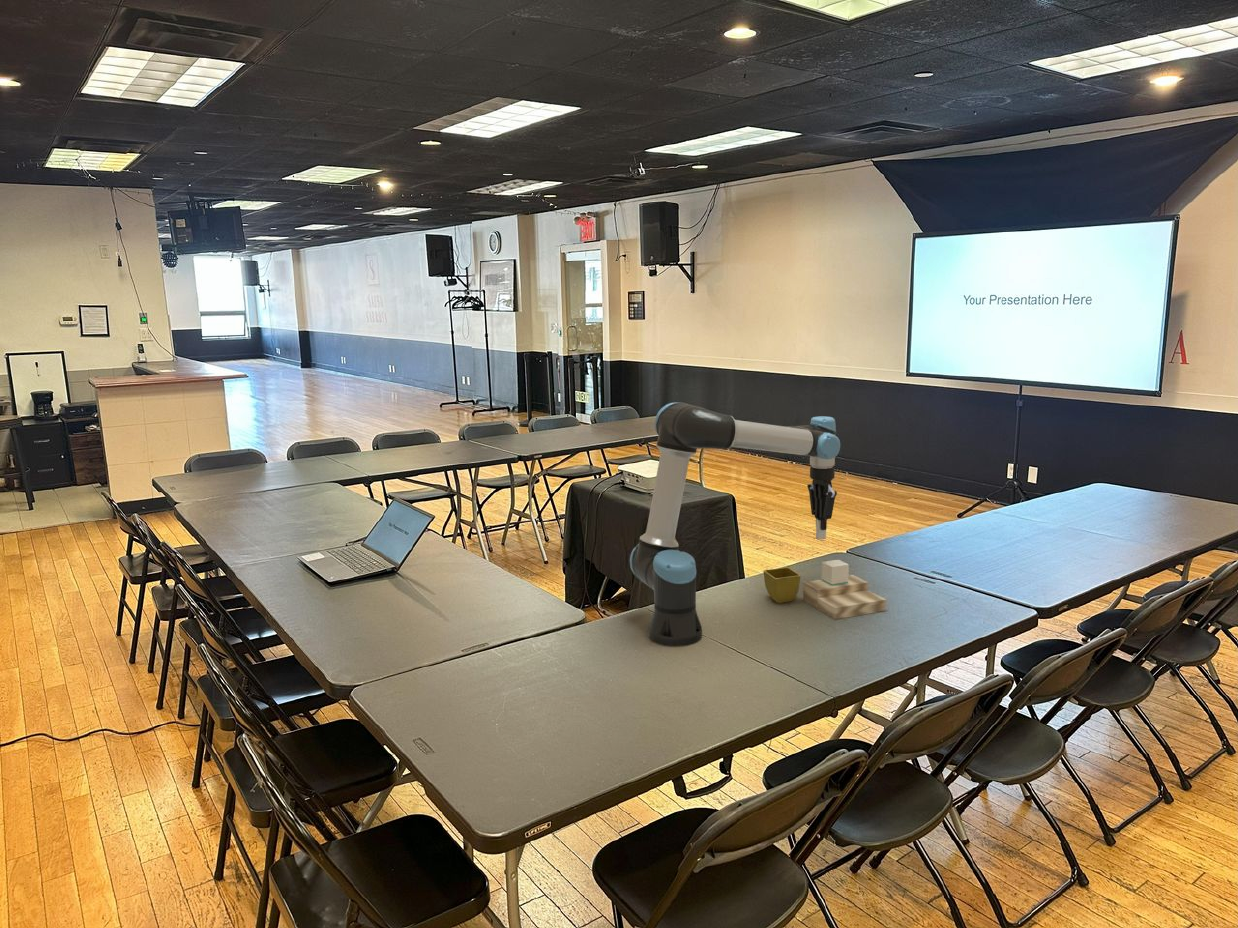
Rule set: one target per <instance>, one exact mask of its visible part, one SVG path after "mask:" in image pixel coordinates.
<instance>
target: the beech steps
mask: <svg viewBox="0 0 1238 928" xmlns="http://www.w3.org/2000/svg"><path fill="white" fill-rule="evenodd" d="M868 588H869V582H868V581H866V580H864V579H862V578H860V577H858V576H856V575H854V574H849V575H848V583H846V584H840V585H833V586H831V585H829V584H827V583H826V582H824V581H822V580H821V578H820V579H817V580H816V579H815V580H808V581H803V589H802V590H803V591H802V593H803V595H802V601H803V602H805V603H807V604H808V605H810V606H812V607H814V608H816V609H817V610H819V611H820V612H822V613H823V614H825V615H826V616H828V617H830V618H832V619H833V620H840V619H846V618H851V617H856V616H857V617H858V616H864V615H869V614H875V613H881V612H887V598H884V597H882V596H880V595H878V594H876V593H874V592H872V591H870V590H869V589H868Z"/></svg>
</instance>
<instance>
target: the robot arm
mask: <svg viewBox="0 0 1238 928" xmlns="http://www.w3.org/2000/svg"><path fill="white" fill-rule="evenodd" d="M836 425H837V424H836V420H835V418H834V417H832V416H823V415H821V416H813V417H812V418H811V419H810V422H809V424H806V425H795V426H793V425H792V426H791V425H790V426H788V425H787V426H783V425H776V424H770V423H769V424H768V423H760V422H754V421H753V422H752V421H747V420H739V419H735V418H734V417H733V416H732V415H730V414H723V413H719V412H716V411H712V410H711V409H710V410H709V409H707V408H704V407H702V406H698V405H697V406H696V405H692V404H690V403H689V404H688V403H685V402H680V401H679V402H669V403H667V404H666V405H664V406H663V407H661V408H660V409H659V410H658V412H657V414H656V415H655V419H654V429H655V431H656V434H657V435H658V436H657V439H656V440H657V442H656V448H657V449H658V450H659V453H660V454H659V460H658V466H657V471H656V476H655V482H654V487H653V494H652V497H651V503H650V509H649V514H648V521H647V524H646V530H645V533H643V534H642V535H640V536H639V540H638V544H637V545H636V546H634V548H633V549H632V551H631V553H630V556H629V566H630V569H631V571H632V573H633V575H634V576H635V577H636V578H637V580H639V581H640V582H641V583H643V584H644V585H646V586H647V587H649V588H650V589H652V590H653V601H654V602H653V603H654V607H653V612H652V615H651V619H650V621H649V625H648V627H647V628H648V629H647V632H648V636H647V637H648V638H649V639H650V640H651V641H652V642H653V643H655V644H657V645H662V646H668V647H669V646H670V647H684V646H690V645H694V644H695V643H697V642H699V641H700V640H702V638H703V628H702V627H703V626H702V624H701V620H700V618H699V614H698V612H697V566H696V560H695V558H694V557H693V556H692V555H691V554H689V553H688V552H685V551H680V550H679V542H678V541H677V540H676V533H677V528H678V523H679V522H678V521H679V516H680V511H681V506H682V502H683V496H684V491H685V484H686V480H687V476H688V470H689V464H690V460H691V459H690V458H692V457H693V456H694V455H697V451H698V449H712V450H724V451H725V450H730V448H738V449H739V448H740V449H749V450H754V451H755V450H756V451H764V452H774V453H782V454H791V455H799V456H807V457H809V464H810V468H809V478H810V479H811V483H809V484H807V490H808V493H809V495H808V496H809V503H810V511H811V515H812V516H814V518H815V539H816V540H817V541H819V540H827V521H828V520H831V519H832V516H833V511H834V506H835V499H836V497H837V495H838V491H836V490H834V489H833V488H832V487H833V484H832V481H833V480H835V475H836V474H835V473H836V472H835V471H836V470H835V467H834V466H835V465H836V462H835V461H836V460H835V459H836V456H838V454H839V453H840V450H841V441H840V438H839V437H838V436H836V434H837V430H836V428H837V427H836Z"/></svg>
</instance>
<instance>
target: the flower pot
mask: <svg viewBox="0 0 1238 928" xmlns="http://www.w3.org/2000/svg"><path fill="white" fill-rule="evenodd" d="M762 572H763V579H764V585H765V588H766V591H767V594H768V595H769V597H770V598H771V599H772V601H775V602H776V603H777V604H778V603H779V604H781V603H786V602H787V603H788V602H793V600H794V599H795V598H796V597H797V595H798V592H799V588H800V584H801V583H800V582H801V574H800V573H798V572H797V571H795V570H793V569H792V568H790V567H785V566H784V567H780V568H772V569H771V568H769V569H764V570H762Z"/></svg>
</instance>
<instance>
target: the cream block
mask: <svg viewBox="0 0 1238 928" xmlns="http://www.w3.org/2000/svg"><path fill="white" fill-rule="evenodd" d="M849 569H850V564H848V563H847V562H844V561H843V560H840V559H834V560H833V559H832V560H826V561H822V562H821V578H820V579H821V580H822V581H824V582H826V583H827V584H829V585H831V586H833V585H840V584H846V583H848V575H850V574H849V571H850V570H849Z"/></svg>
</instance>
